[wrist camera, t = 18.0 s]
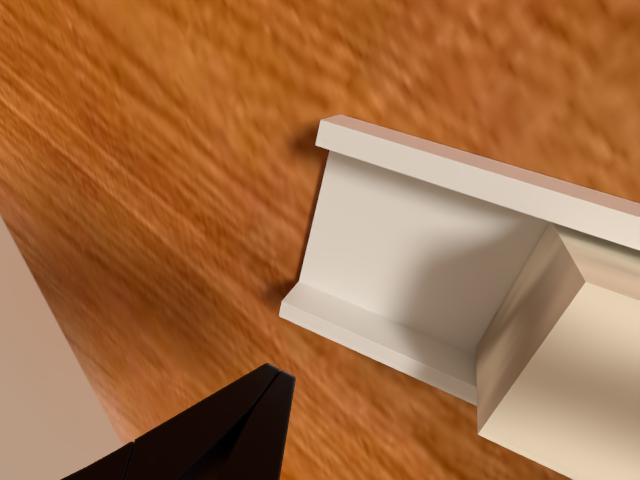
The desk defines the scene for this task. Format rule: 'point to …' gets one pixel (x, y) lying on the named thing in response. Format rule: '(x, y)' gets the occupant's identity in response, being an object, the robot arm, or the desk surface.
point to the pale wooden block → (567, 359)
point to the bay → (428, 247)
